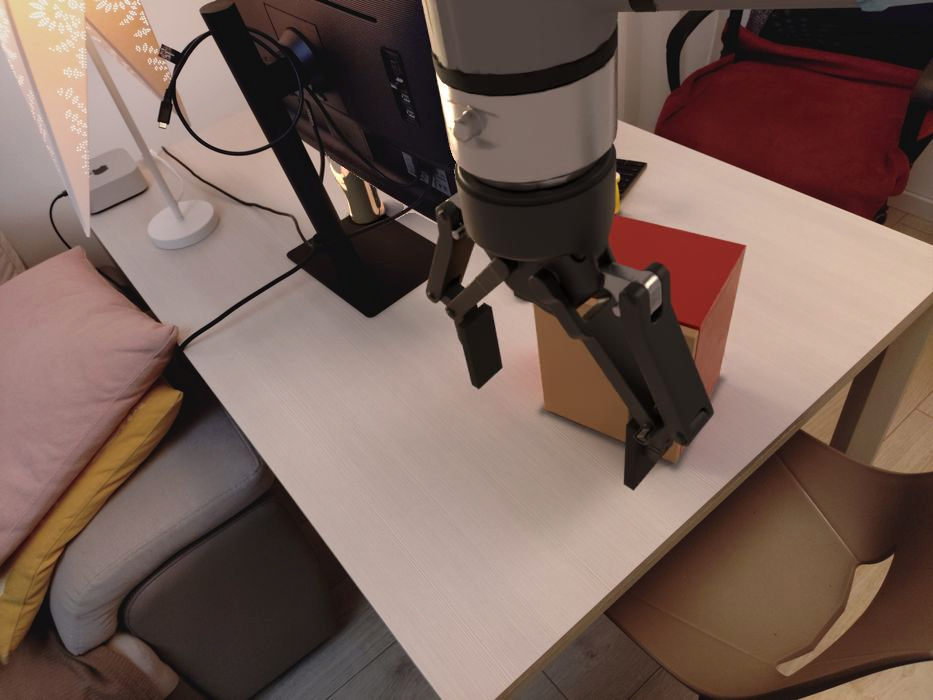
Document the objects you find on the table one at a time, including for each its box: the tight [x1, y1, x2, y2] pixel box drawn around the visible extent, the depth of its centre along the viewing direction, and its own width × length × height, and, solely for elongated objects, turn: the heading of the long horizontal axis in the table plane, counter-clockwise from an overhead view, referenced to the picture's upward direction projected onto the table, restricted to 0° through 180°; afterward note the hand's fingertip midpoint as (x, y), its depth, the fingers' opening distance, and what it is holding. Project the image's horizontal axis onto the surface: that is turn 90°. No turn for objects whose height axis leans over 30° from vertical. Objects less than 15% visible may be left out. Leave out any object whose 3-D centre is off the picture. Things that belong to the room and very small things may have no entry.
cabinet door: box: [532, 298, 699, 464], centre depth 63 cm, size 7×16×20 cm, turn 56°
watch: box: [615, 171, 621, 215], centre depth 97 cm, size 6×3×6 cm, turn 4°
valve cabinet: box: [592, 214, 747, 456], centre depth 68 cm, size 12×16×20 cm
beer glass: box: [325, 153, 386, 225], centre depth 104 cm, size 7×7×15 cm
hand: (557, 420), depth 44 cm, fingers open, 13 cm apart
